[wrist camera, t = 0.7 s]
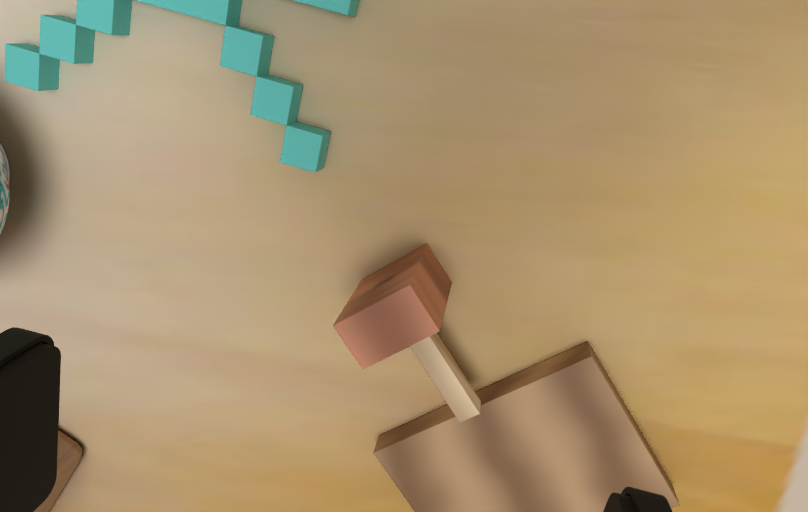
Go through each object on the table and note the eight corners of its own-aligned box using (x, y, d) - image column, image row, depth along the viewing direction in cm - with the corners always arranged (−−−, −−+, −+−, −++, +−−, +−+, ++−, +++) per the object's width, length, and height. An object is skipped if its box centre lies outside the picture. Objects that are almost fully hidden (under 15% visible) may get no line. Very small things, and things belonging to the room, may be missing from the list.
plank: (587, 341, 38) (591, 356, 37) (672, 484, 41) (679, 505, 39) (379, 435, 43) (373, 452, 42) (465, 558, 46) (463, 580, 44)
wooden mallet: (427, 243, 38) (409, 284, 32) (506, 369, 40) (505, 433, 34) (362, 279, 40) (332, 326, 33) (441, 399, 42) (428, 465, 35)
